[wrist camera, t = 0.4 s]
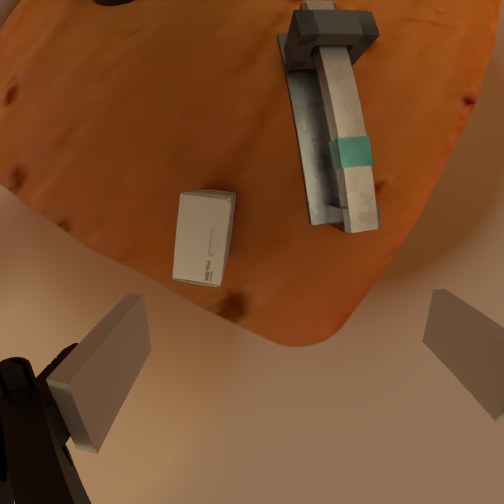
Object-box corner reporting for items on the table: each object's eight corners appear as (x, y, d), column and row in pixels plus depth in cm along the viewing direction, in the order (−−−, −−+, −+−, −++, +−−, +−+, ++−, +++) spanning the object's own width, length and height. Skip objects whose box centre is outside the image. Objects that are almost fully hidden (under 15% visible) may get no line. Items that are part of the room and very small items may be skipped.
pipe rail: (276, 37, 34) (283, 0, 24) (333, 34, 34) (353, 1, 24) (310, 224, 39) (328, 237, 30) (367, 216, 39) (400, 225, 30)
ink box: (199, 187, 38) (178, 188, 27) (238, 192, 38) (232, 195, 27) (192, 253, 40) (169, 281, 29) (229, 259, 40) (220, 288, 29)
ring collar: (283, 49, 32) (294, 10, 22) (345, 47, 31) (371, 11, 22) (288, 70, 32) (300, 34, 23) (350, 67, 32) (379, 35, 22)
